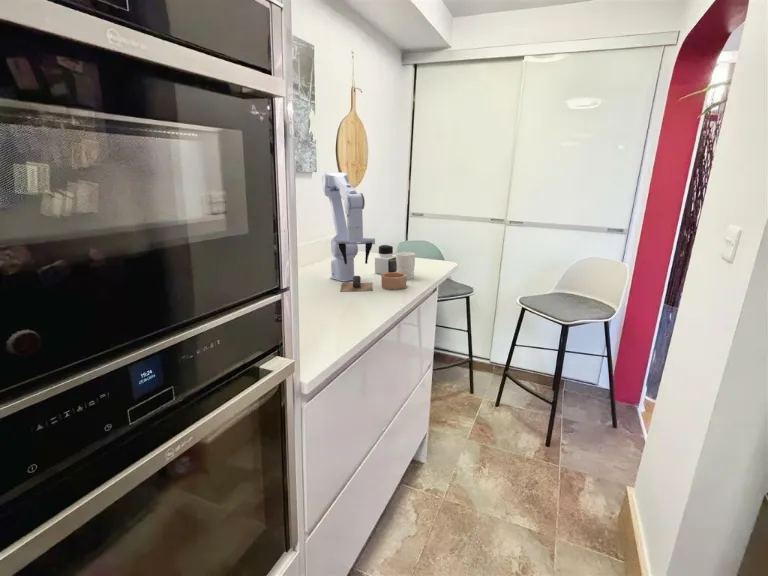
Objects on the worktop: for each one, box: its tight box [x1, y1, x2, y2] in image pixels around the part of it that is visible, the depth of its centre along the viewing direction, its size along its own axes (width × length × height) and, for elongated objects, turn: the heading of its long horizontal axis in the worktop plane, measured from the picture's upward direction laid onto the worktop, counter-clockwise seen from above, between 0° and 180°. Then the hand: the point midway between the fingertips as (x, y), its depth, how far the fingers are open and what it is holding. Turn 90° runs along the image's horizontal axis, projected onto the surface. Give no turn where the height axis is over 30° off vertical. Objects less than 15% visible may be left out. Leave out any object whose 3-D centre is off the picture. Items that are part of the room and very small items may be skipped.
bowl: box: [380, 272, 407, 290], centre depth 162 cm, size 9×9×4 cm
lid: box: [339, 275, 374, 293], centre depth 162 cm, size 12×12×5 cm
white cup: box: [395, 251, 416, 280], centre depth 175 cm, size 8×8×10 cm
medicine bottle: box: [374, 244, 397, 275], centre depth 184 cm, size 7×7×12 cm
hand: (356, 263), depth 160 cm, fingers open, 7 cm apart
